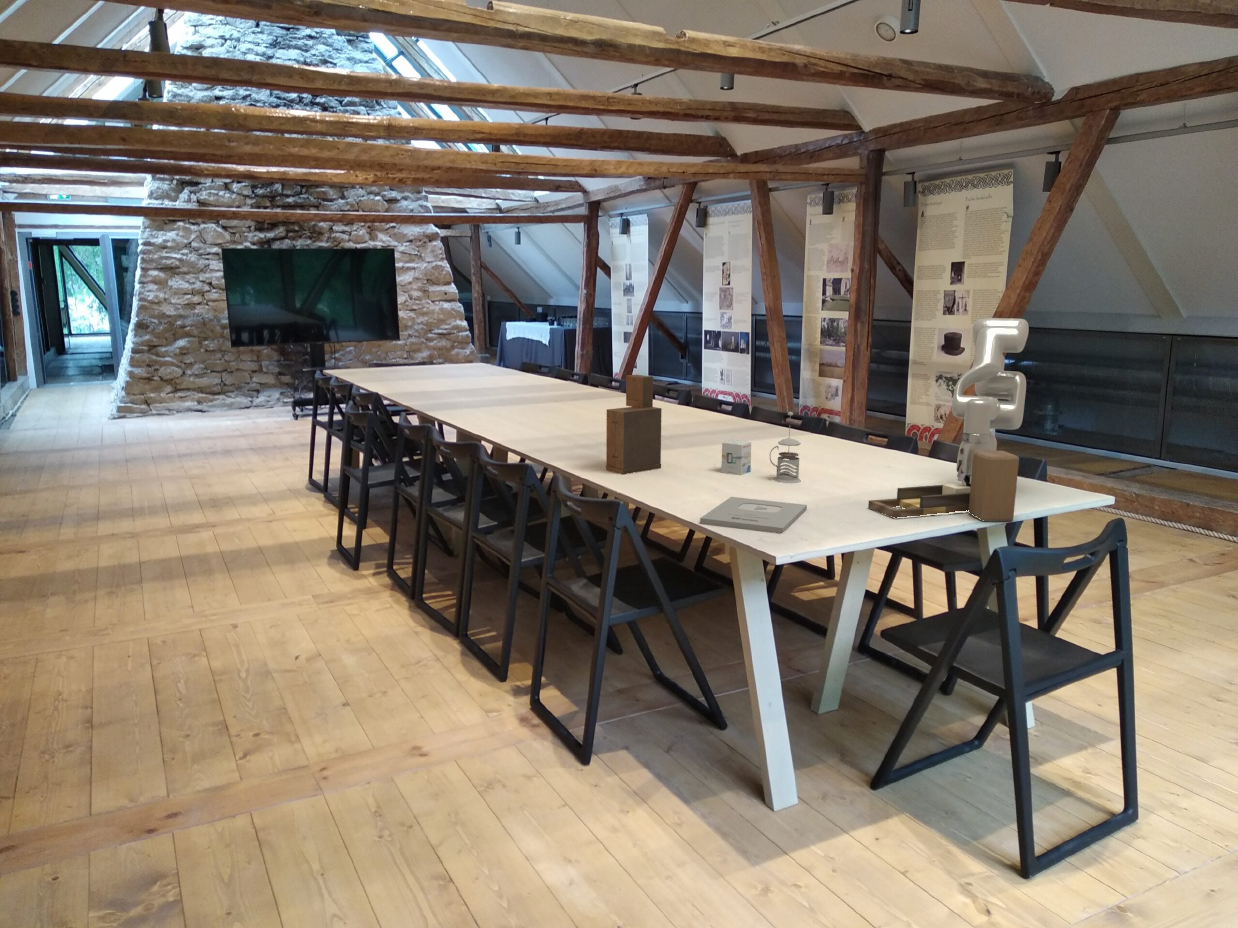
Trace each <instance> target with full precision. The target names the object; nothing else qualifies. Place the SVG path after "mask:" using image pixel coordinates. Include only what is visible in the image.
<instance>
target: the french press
mask: <svg viewBox="0 0 1238 928" xmlns="http://www.w3.org/2000/svg"><path fill="white" fill-rule="evenodd" d="M793 415H794V413H793V412H792V411H788V412H787V416H789V419H791V416H793ZM790 436H791V426H789V432H788V438H783V439H781V440H779V441H778V442H777V444H778V445H780V446H786V447H787V446H788V447H795V446H796V447H797V446H800V445H801V442H800V441H799V440H797V439H795V438H791V437H790ZM778 445H776V446H773V447H772V449H770V451H769V461H770V463H771V465H772V466H774V467H776V477H775V478H774V479H773V480H775V481H774V482H776V483H781V482H782V483H784V484H797V483H801V482H802V480H801V478H800V477H799V475H800V472H799V471H800V457H799V453H797V452H793V451H792V452H791V451H790V449H788V451H783V452H782V451H781V452H779V453H778V455H779V456H777V463H776V464H775V463H774V462H773V460H772V458H771V457H772V456H771V455H772V454H771V453H772V451H774V450H775V449H779V446H778ZM794 470H795V471H794Z"/></svg>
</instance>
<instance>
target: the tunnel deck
mask: <svg viewBox="0 0 1238 928" xmlns="http://www.w3.org/2000/svg"><path fill="white" fill-rule="evenodd" d="M943 485H944V484H934V485H923V486H920V485H919V486H907V487H897V489H896V490H897V491H896V497H895V498H884V499H872V500H871V499H870V500H868V503H867V505H868V506H867V507H868V509H869V508H871V509H873V510H872V511H874V510H876V511H878V512H877V513H879V512H880V513H879V514H881V513H883V514H886V515H888V516H892V517H895V518H897V517H907V516H920V515H927V514H937V513H949V512H955V511H966V510H967V511H968V510H969V499H970V492H968V493H955V494H942V490H943ZM896 506H900V507H903V508H905V509H902V508H893V507H896ZM871 509H870V510H871ZM876 511H875V512H876ZM883 514H882V515H883ZM886 515H885V516H886ZM888 516H887V517H888Z"/></svg>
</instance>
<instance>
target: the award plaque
mask: <svg viewBox="0 0 1238 928" xmlns="http://www.w3.org/2000/svg"><path fill="white" fill-rule="evenodd" d="M807 509H808V504H801V503H791V502H783V501H774V500H773V501H772V500H764V499H757V498H746V497H737V496H731V497H729V498H727V499H726V500H724V501H723V502H721V503H720V504H719V505H717V506H715V507H714V508H713V509H711V510H710V511H708V512H707V513H705V514H703V516H701V517H700V518H699V524H702V525H707V526H715V527H716V526H717V527H724V528H726V527H727V528H733V529H742V530H749V531H750V530H751V531H756V532H757V531H759V532H765V531H767V532H766V533H773V532H776V533H775V534H781V533H783V532H784V531H785V532H786V531H787V530H788V529H789V528H790V527H791V526H792V525H794V523H795V522H796V521H797V520H798V519H799V518H800V517H802V515H803V514H804V513H805V512H806V511H808V510H807ZM785 532H784V533H785ZM784 533H783V534H784Z"/></svg>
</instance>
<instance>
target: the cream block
mask: <svg viewBox="0 0 1238 928" xmlns="http://www.w3.org/2000/svg"><path fill="white" fill-rule="evenodd" d="M942 485H943V490H942V494H955V493H968V492H970V488H971V487H969V486H965V485H962V484H961V483H948V484H947V483H946V484H945V483H944V484H942Z"/></svg>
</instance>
